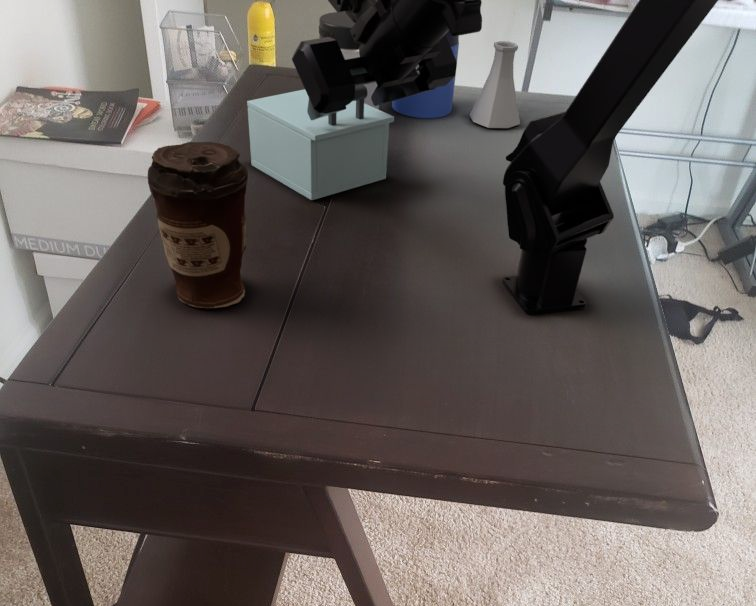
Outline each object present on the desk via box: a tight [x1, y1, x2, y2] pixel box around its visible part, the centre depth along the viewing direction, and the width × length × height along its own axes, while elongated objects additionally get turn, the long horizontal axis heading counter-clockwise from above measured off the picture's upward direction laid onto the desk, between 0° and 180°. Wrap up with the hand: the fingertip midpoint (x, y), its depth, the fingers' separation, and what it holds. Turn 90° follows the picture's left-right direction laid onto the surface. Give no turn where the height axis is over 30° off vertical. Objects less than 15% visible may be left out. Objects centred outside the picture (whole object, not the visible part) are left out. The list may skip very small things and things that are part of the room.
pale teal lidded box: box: [247, 106, 390, 201], centre depth 90 cm, size 13×12×7 cm
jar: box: [318, 11, 380, 110], centre depth 104 cm, size 9×8×12 cm
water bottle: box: [391, 31, 460, 119], centre depth 103 cm, size 9×9×25 cm
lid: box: [246, 85, 395, 141], centre depth 86 cm, size 13×12×4 cm
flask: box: [469, 40, 521, 129], centre depth 106 cm, size 7×7×10 cm
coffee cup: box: [147, 141, 249, 309], centre depth 66 cm, size 9×8×13 cm
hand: (342, 108), depth 84 cm, fingers open, 9 cm apart
